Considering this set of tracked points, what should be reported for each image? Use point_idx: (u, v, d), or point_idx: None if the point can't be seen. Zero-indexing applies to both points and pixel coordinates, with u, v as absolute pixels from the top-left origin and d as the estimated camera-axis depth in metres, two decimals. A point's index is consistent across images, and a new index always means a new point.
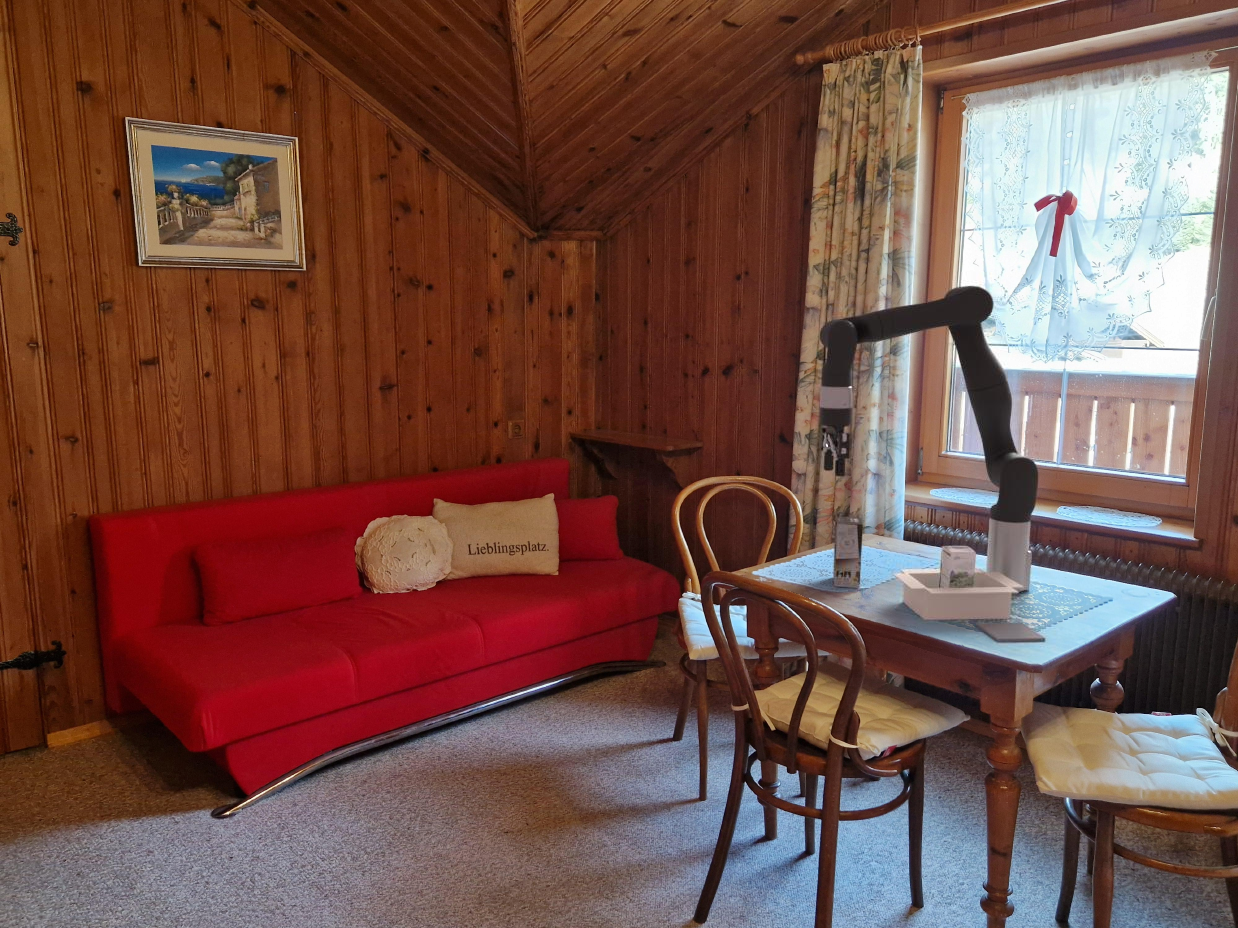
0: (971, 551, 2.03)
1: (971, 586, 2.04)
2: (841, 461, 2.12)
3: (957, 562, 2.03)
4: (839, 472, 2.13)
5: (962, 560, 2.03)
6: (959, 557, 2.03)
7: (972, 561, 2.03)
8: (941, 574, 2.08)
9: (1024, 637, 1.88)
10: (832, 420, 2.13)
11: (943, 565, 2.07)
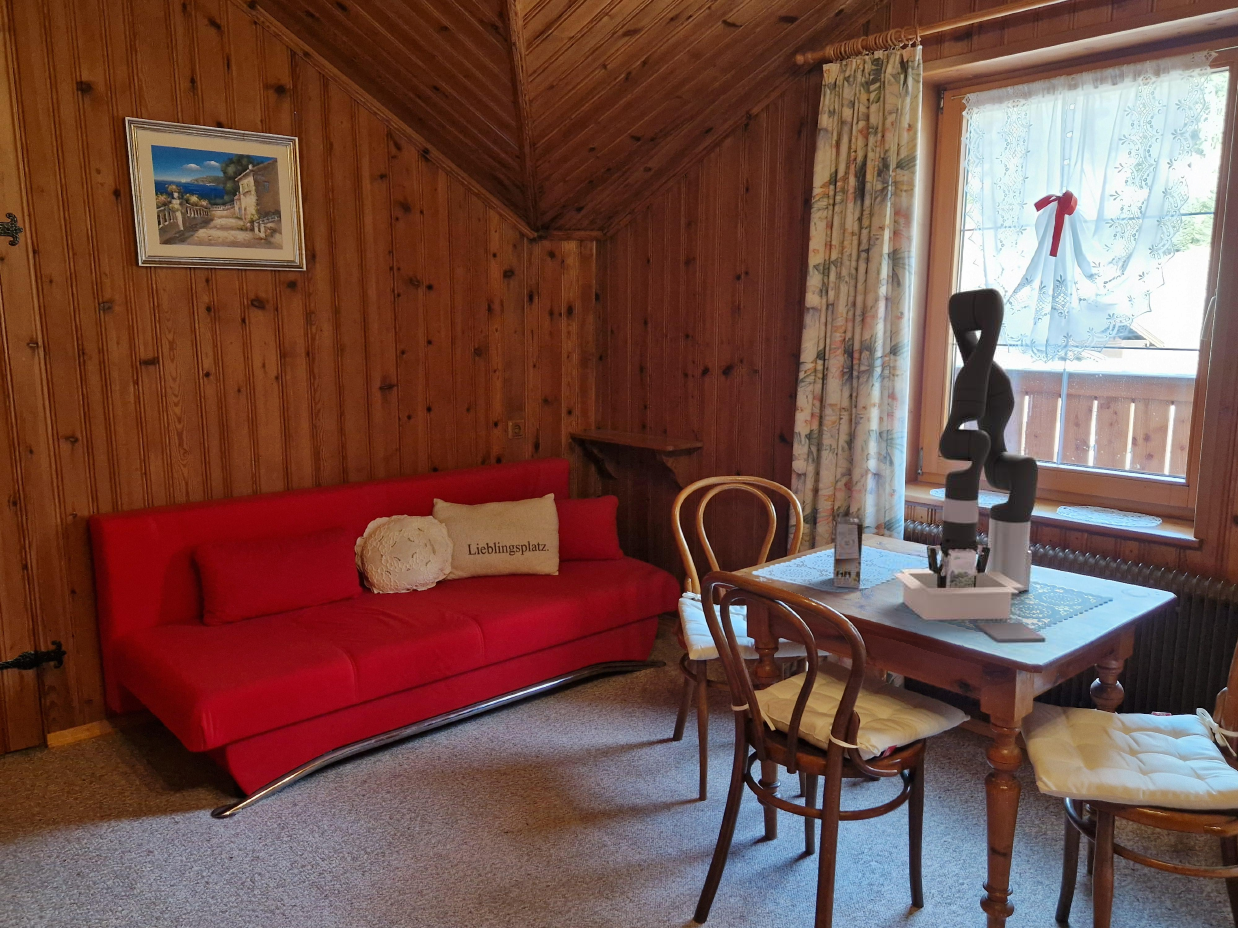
0: (971, 551, 2.03)
1: (971, 586, 2.04)
2: None
3: (957, 562, 2.03)
4: None
5: (962, 560, 2.03)
6: (959, 557, 2.03)
7: (972, 561, 2.03)
8: None
9: (1024, 637, 1.88)
10: None
11: None
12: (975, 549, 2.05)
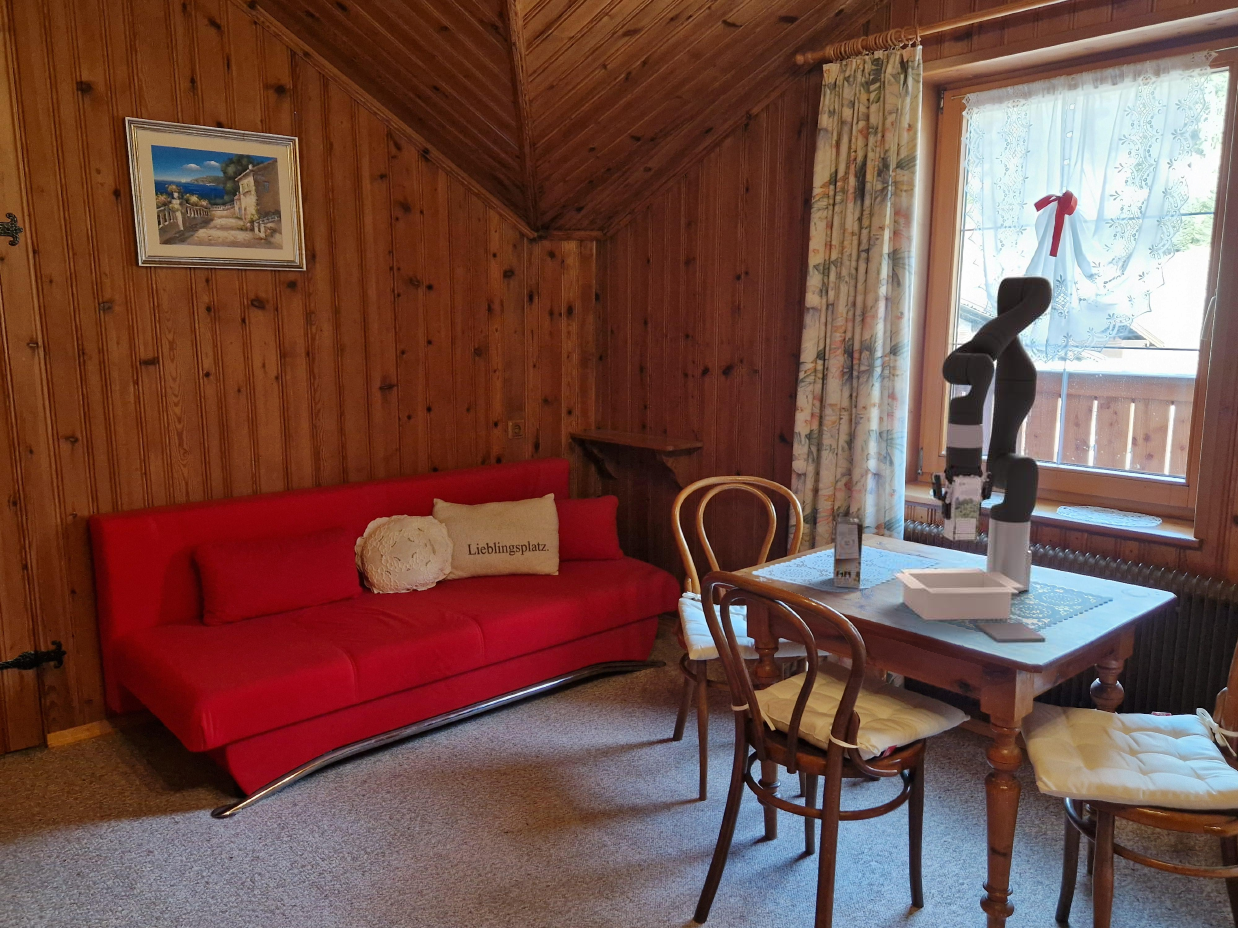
0: (976, 477, 2.01)
1: (976, 513, 2.01)
2: None
3: (962, 488, 2.00)
4: None
5: (967, 486, 2.00)
6: (964, 483, 2.00)
7: (977, 487, 2.00)
8: None
9: (1024, 637, 1.88)
10: (981, 459, 2.01)
11: None
12: (980, 475, 2.02)
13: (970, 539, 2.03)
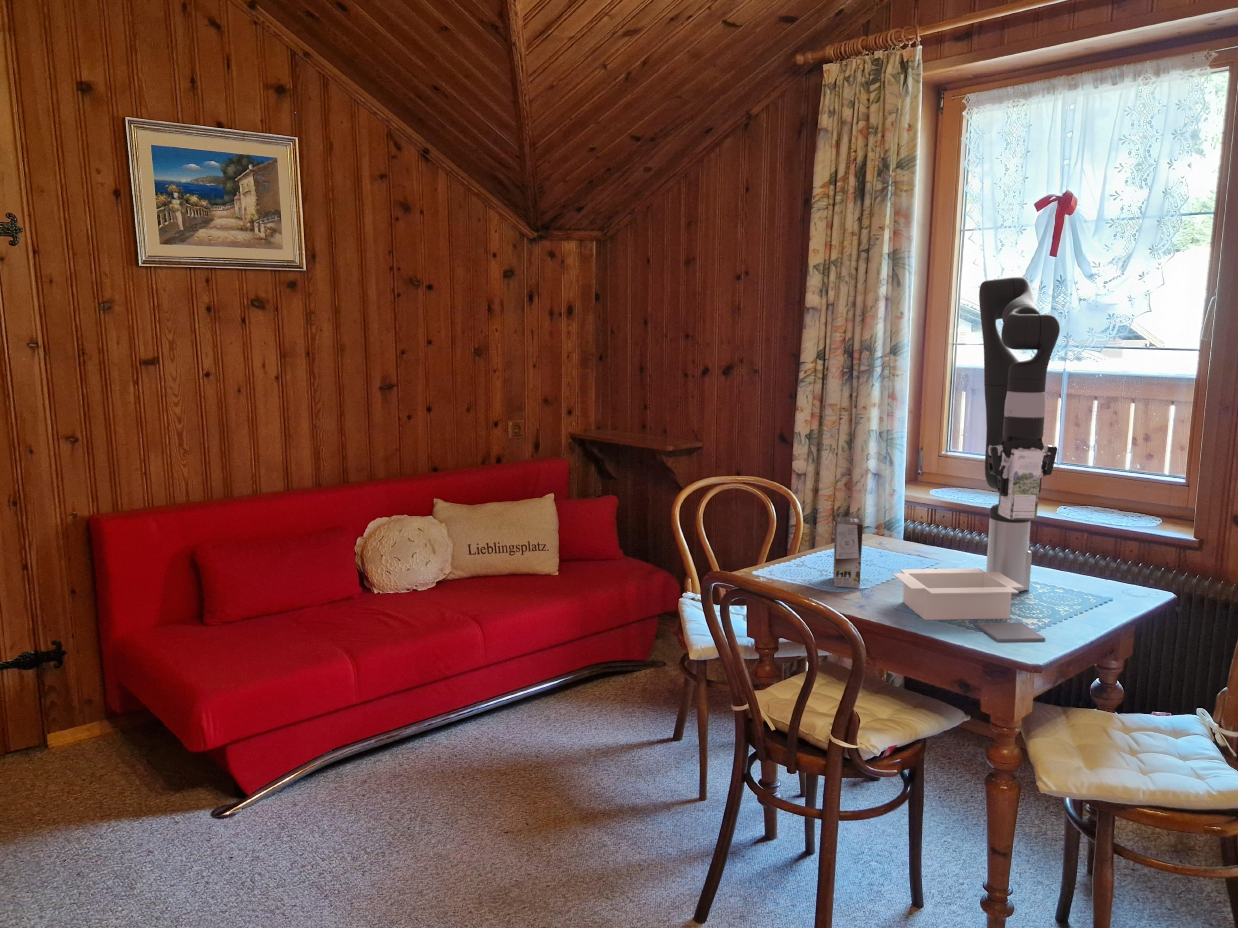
0: (1037, 450, 1.84)
1: (1036, 489, 1.85)
2: None
3: (1021, 462, 1.84)
4: None
5: (1027, 460, 1.84)
6: (1024, 456, 1.84)
7: (1038, 461, 1.84)
8: None
9: (1024, 637, 1.88)
10: (1043, 430, 1.84)
11: None
12: (1041, 448, 1.85)
13: (1029, 518, 1.86)
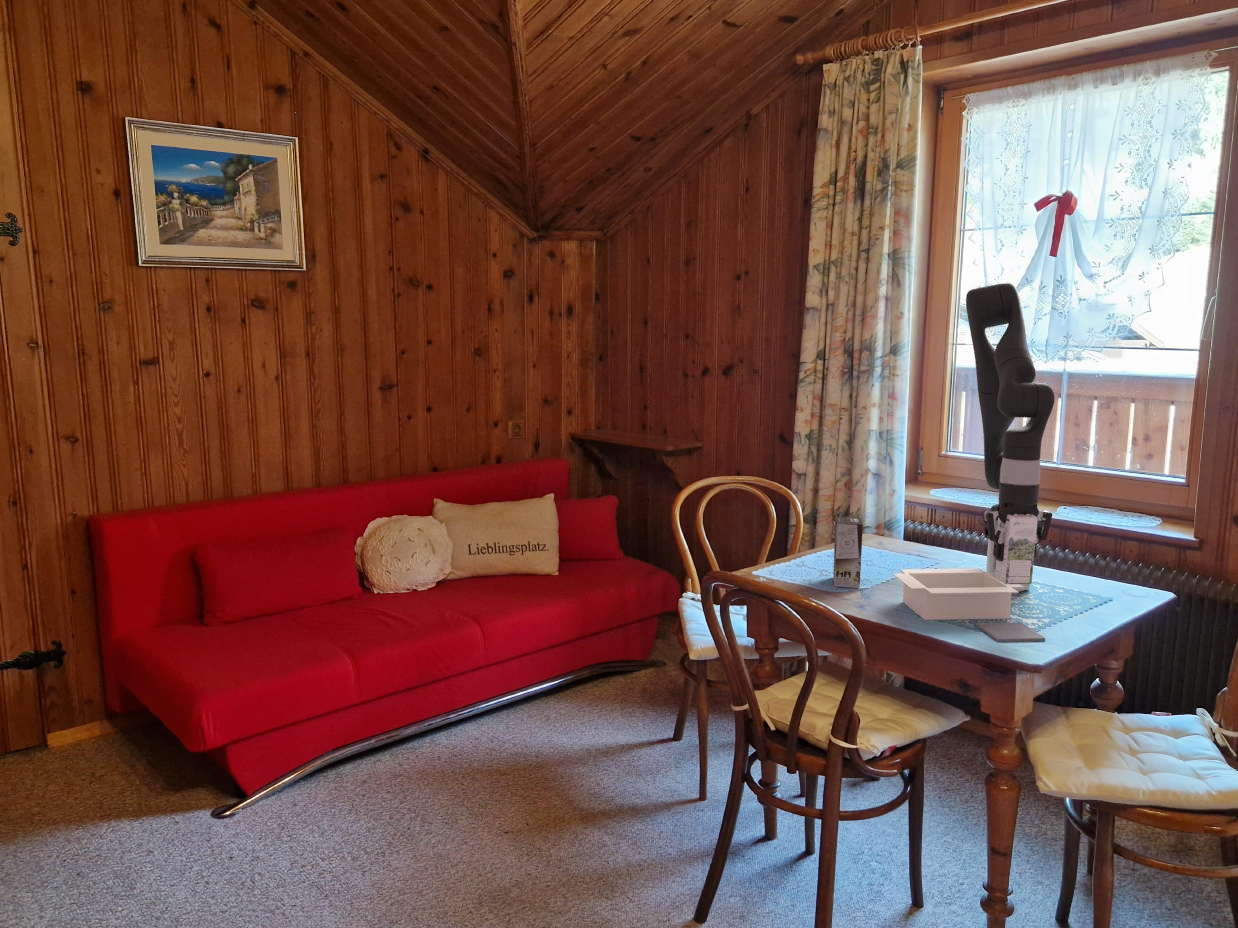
0: (1032, 516, 1.86)
1: (1031, 555, 1.87)
2: None
3: (1017, 528, 1.86)
4: None
5: (1022, 526, 1.86)
6: (1019, 522, 1.86)
7: (1033, 527, 1.86)
8: None
9: (1024, 637, 1.88)
10: (1038, 497, 1.86)
11: None
12: (1036, 514, 1.88)
13: (1024, 582, 1.88)
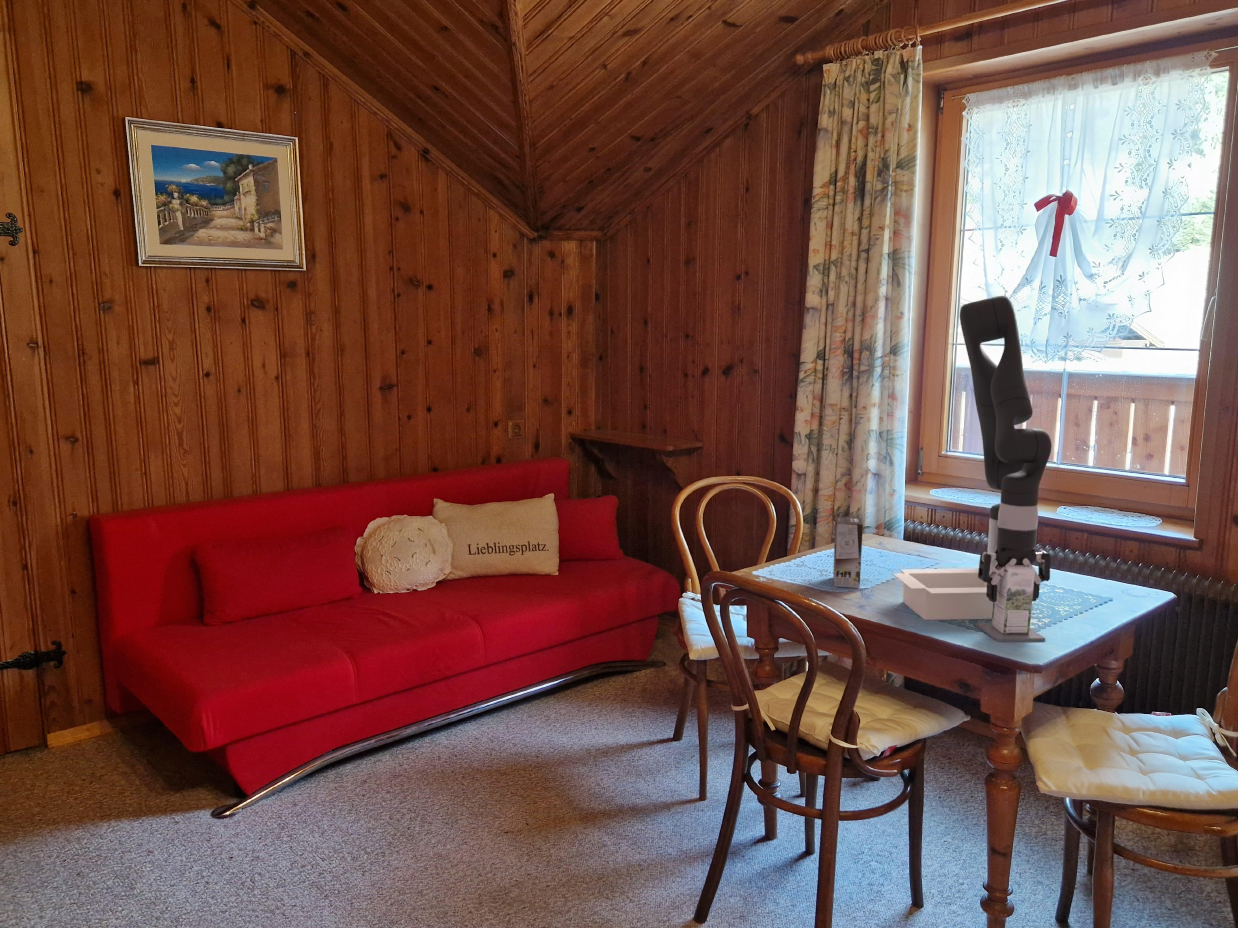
0: (1029, 567, 1.88)
1: (1029, 605, 1.89)
2: None
3: (1014, 579, 1.88)
4: None
5: (1020, 577, 1.87)
6: (1017, 573, 1.87)
7: (1031, 578, 1.88)
8: None
9: (1024, 637, 1.88)
10: None
11: (998, 582, 1.92)
12: (1034, 558, 1.89)
13: (1022, 632, 1.90)
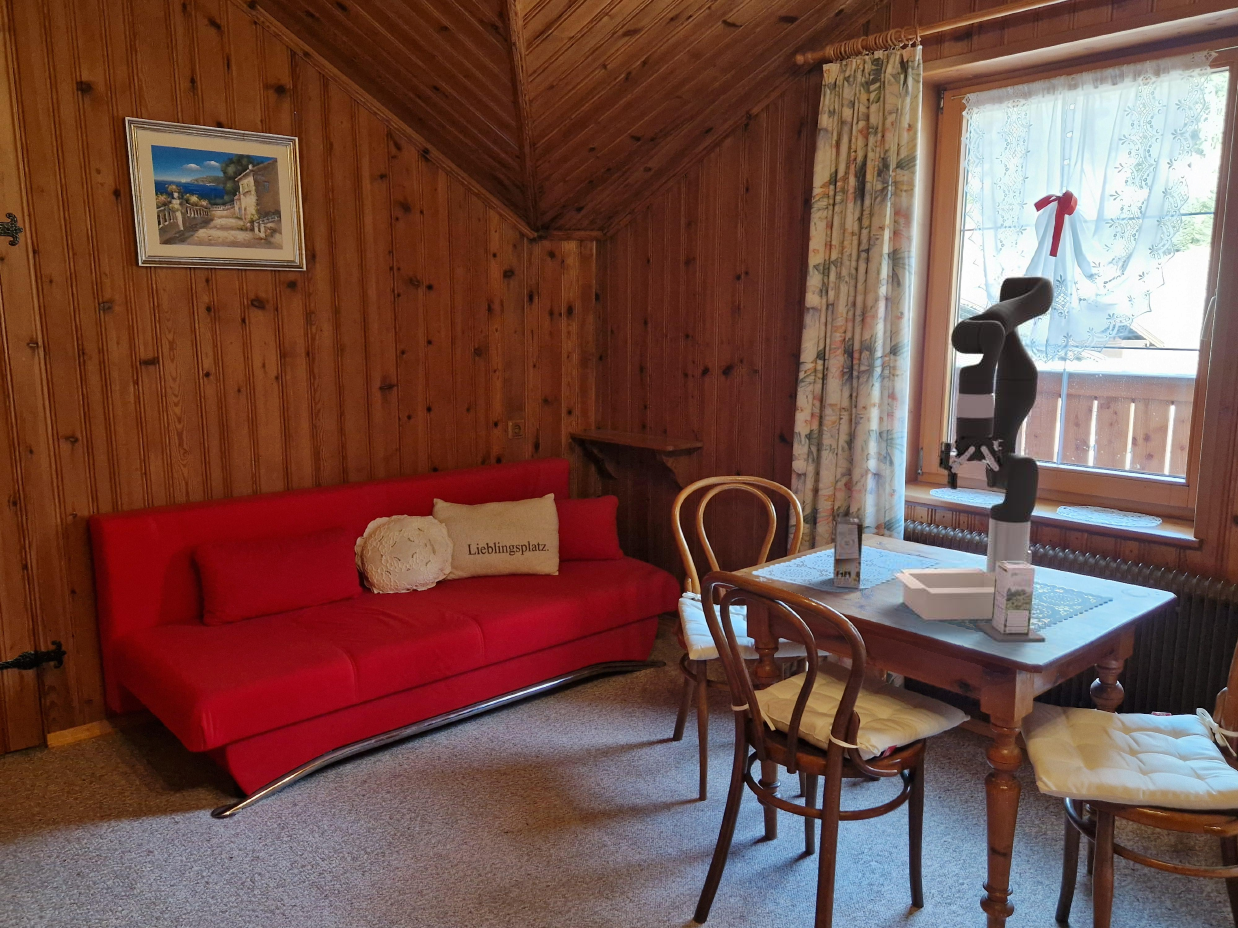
0: (1029, 567, 1.88)
1: (1029, 605, 1.89)
2: None
3: (1014, 579, 1.88)
4: None
5: (1020, 577, 1.87)
6: (1017, 573, 1.87)
7: (1031, 578, 1.88)
8: (995, 591, 1.93)
9: (1024, 637, 1.88)
10: (993, 429, 1.96)
11: (998, 582, 1.91)
12: (991, 446, 1.97)
13: (1022, 632, 1.90)
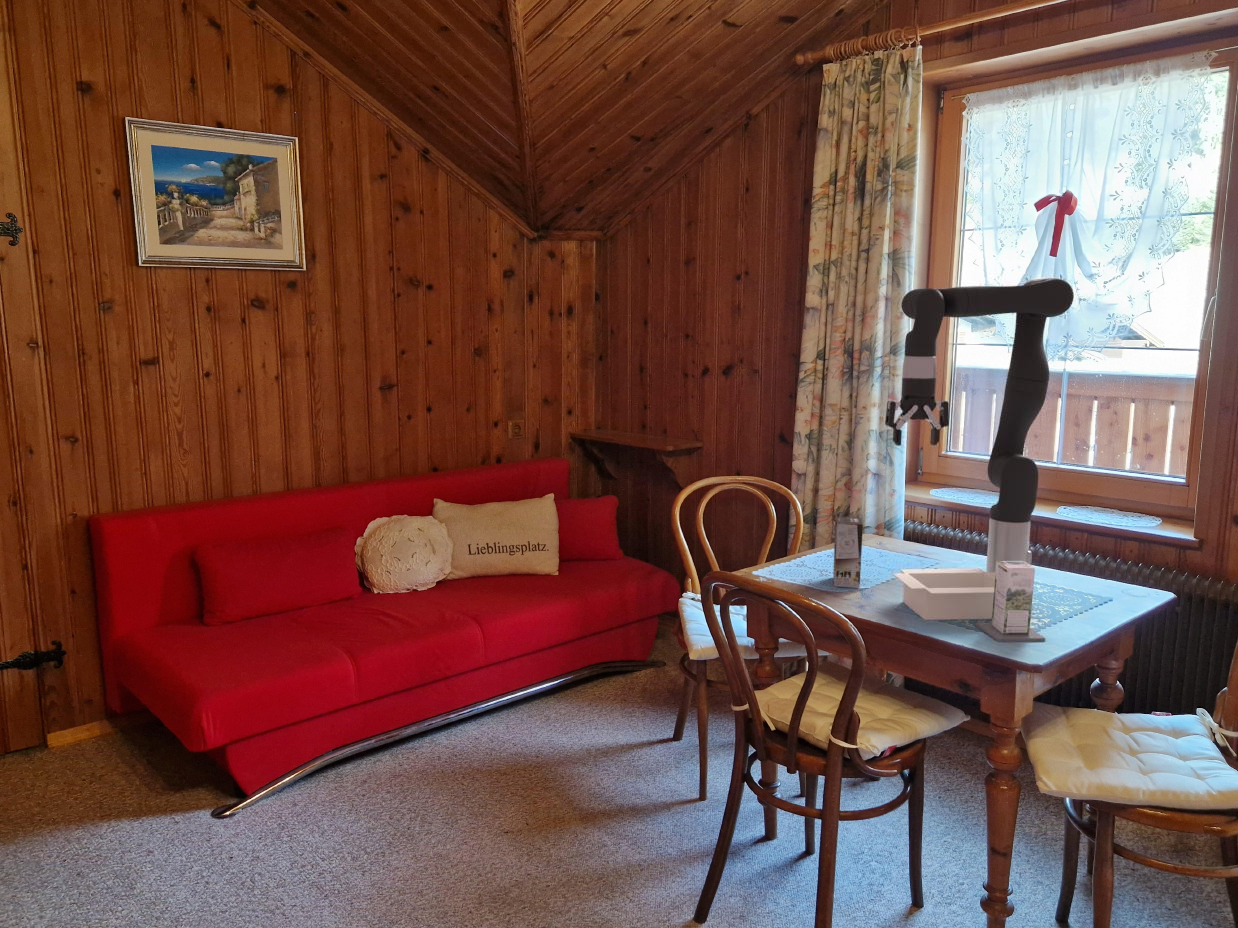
0: (1029, 567, 1.88)
1: (1029, 605, 1.89)
2: None
3: (1014, 579, 1.88)
4: None
5: (1020, 577, 1.87)
6: (1017, 573, 1.87)
7: (1031, 578, 1.88)
8: (995, 591, 1.93)
9: (1024, 637, 1.88)
10: None
11: (998, 582, 1.91)
12: (934, 406, 2.12)
13: (1022, 632, 1.90)
